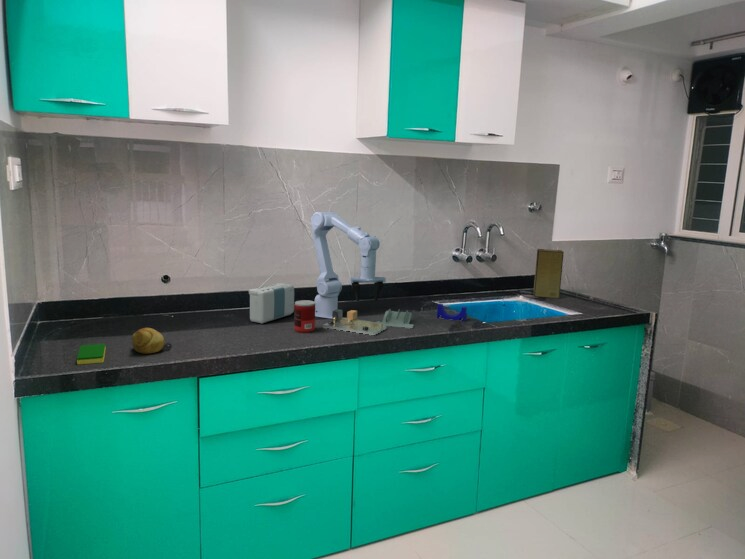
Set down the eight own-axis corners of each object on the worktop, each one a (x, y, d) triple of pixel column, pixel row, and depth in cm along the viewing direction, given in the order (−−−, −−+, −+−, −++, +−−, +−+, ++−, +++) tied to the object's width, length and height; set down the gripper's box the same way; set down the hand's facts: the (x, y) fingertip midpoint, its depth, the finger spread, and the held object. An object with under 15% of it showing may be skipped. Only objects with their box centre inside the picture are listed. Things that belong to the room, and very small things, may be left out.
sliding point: (345, 323, 218) (346, 312, 217) (351, 320, 223) (351, 310, 222) (351, 324, 217) (351, 313, 217) (356, 321, 222) (357, 310, 221)
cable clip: (466, 319, 240) (467, 306, 239) (464, 322, 236) (465, 308, 234) (439, 316, 244) (440, 302, 243) (436, 318, 240) (437, 304, 239)
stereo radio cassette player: (263, 325, 217) (263, 274, 213) (246, 322, 221) (246, 272, 217) (294, 315, 235) (295, 268, 232) (279, 312, 239) (279, 266, 235)
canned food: (318, 329, 214) (318, 301, 212) (309, 334, 207) (309, 305, 205) (300, 326, 216) (300, 299, 215) (290, 331, 209) (291, 303, 207)
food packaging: (558, 295, 302) (562, 249, 298) (559, 298, 293) (564, 251, 289) (532, 293, 305) (536, 248, 301) (533, 296, 296) (537, 250, 292)
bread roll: (130, 345, 185) (129, 322, 183) (161, 342, 189) (161, 320, 188) (133, 357, 173) (132, 332, 172) (166, 353, 178) (165, 329, 176)
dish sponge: (77, 366, 164) (76, 358, 164) (81, 352, 177) (80, 345, 177) (103, 363, 167) (103, 356, 167) (105, 350, 180) (105, 343, 179)
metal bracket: (381, 305, 234) (417, 308, 231) (381, 317, 237) (416, 320, 234) (375, 322, 222) (412, 326, 219) (375, 335, 224) (412, 338, 221)
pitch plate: (322, 327, 216) (322, 314, 215) (336, 321, 227) (337, 308, 226) (374, 335, 208) (374, 321, 207) (386, 328, 219) (387, 315, 218)
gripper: (353, 268, 213) (352, 303, 216) (388, 268, 218) (387, 302, 220) (348, 265, 220) (347, 299, 222) (383, 265, 224) (381, 298, 227)
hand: (366, 300), depth 222 cm, fingers open, 7 cm apart
